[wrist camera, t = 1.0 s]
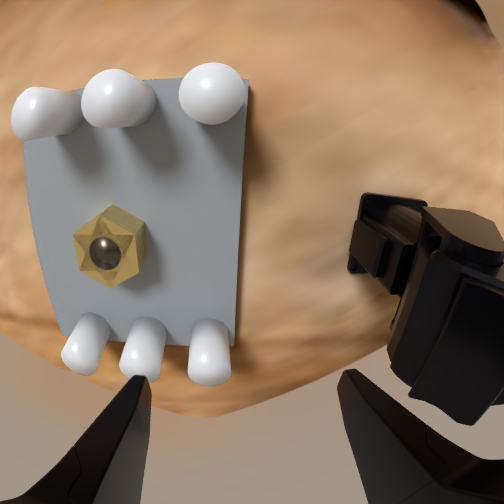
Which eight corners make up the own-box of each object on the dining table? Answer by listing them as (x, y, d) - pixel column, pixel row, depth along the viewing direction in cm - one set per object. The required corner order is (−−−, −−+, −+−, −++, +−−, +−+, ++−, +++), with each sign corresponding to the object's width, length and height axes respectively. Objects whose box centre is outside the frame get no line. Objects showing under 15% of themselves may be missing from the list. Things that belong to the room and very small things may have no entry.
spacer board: (247, 82, 16) (258, 64, 11) (233, 338, 24) (237, 386, 19) (31, 102, 14) (-14, 103, 9) (66, 328, 22) (45, 367, 17)
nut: (143, 203, 17) (133, 214, 15) (148, 271, 19) (141, 290, 17) (85, 204, 17) (69, 216, 15) (95, 270, 19) (82, 287, 17)
